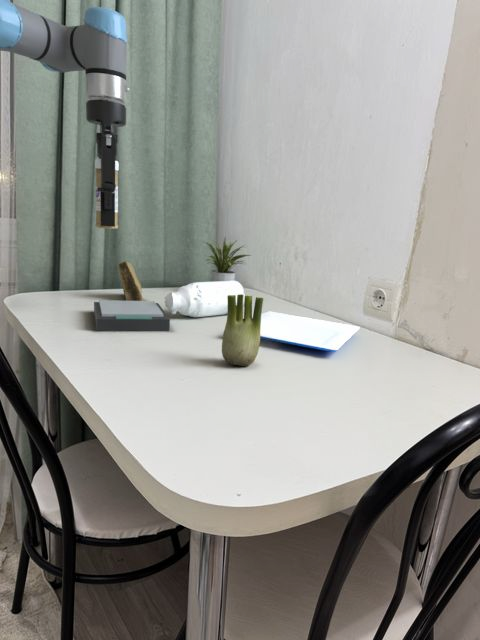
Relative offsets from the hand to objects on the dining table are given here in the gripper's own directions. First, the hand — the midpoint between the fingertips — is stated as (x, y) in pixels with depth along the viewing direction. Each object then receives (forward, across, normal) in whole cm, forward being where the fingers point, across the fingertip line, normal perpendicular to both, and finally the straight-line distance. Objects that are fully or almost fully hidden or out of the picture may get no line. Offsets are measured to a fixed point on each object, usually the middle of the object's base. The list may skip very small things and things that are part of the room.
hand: (107, 224), depth 105 cm
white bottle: (+20, 0, -22) cm, 30 cm away
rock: (+19, +19, -7) cm, 28 cm away
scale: (+19, -5, -4) cm, 20 cm away
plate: (+20, -18, -37) cm, 46 cm away
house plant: (+19, +30, -33) cm, 49 cm away
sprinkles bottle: (+1, 0, 0) cm, 1 cm away
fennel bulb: (+20, -35, -19) cm, 45 cm away
